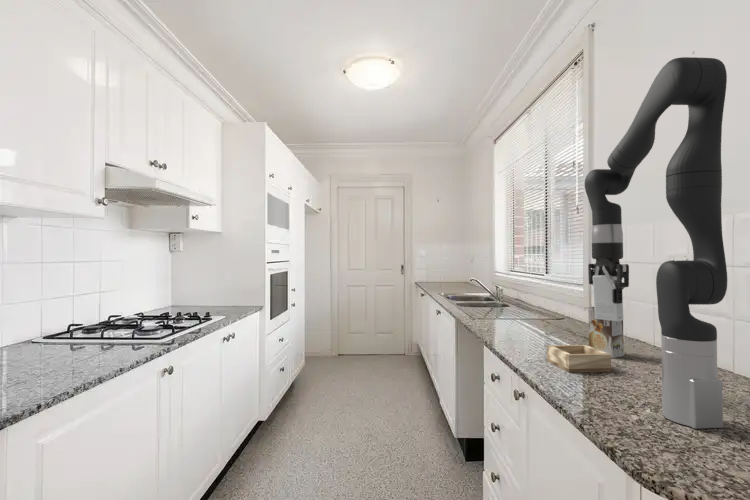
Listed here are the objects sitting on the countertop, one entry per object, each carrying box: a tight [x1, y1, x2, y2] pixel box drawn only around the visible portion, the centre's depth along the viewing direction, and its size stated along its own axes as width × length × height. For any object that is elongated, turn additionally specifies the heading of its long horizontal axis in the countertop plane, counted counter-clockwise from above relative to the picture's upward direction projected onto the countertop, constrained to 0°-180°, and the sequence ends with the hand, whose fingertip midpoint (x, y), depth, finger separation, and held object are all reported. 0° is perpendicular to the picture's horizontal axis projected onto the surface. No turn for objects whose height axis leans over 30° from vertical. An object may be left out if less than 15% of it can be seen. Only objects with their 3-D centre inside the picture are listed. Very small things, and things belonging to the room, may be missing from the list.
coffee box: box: [587, 306, 625, 359], centre depth 140 cm, size 9×6×16 cm
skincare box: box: [592, 275, 624, 321], centre depth 110 cm, size 6×4×12 cm
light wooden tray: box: [546, 344, 612, 373], centre depth 125 cm, size 13×13×5 cm
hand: (607, 301), depth 110 cm, fingers closed on skincare box, 7 cm apart
